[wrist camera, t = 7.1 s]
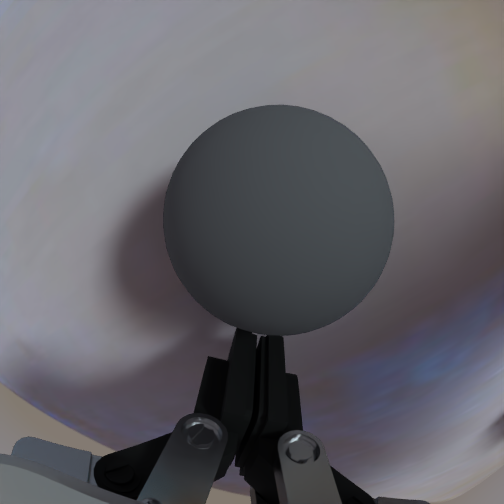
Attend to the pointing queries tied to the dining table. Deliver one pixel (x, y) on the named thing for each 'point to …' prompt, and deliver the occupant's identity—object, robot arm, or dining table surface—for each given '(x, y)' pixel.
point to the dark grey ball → (278, 220)
